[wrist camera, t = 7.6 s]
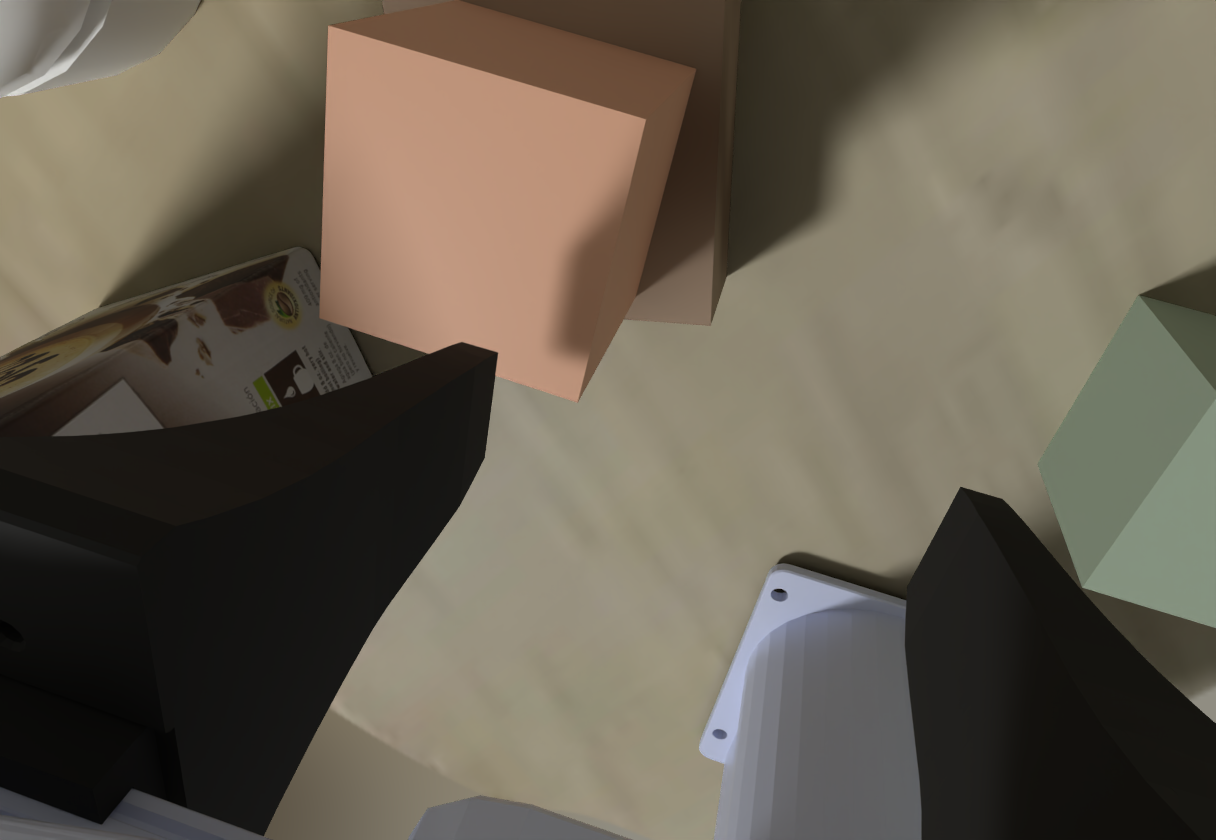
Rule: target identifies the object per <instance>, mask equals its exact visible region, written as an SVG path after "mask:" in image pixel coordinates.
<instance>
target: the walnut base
mask: <svg viewBox="0 0 1216 840" xmlns="http://www.w3.org/2000/svg"><path fill="white" fill-rule="evenodd" d="M449 1H454V0H382V4H383V10H384V14H389V13H394V12H399V11H404V10H409V9H414V8H419V7H424V6H429V5H434V4H439V3H444V2H449ZM460 1H463V2H467V3H470V4H474V5H477V6H481V7H484V8H488V9H491V10H495V11H498V12H501V13H505V14H508V15H512V16H515V17H519V18H522V19H526V20H529V21H533V22H536V23H540V24H543V25H547V26H550V27H553V28H557V29H560V30H564V31H567V32H571V33H574V34H578V35H581V36H585V37H588V38H592V39H595V40H598V41H602V42H605V43H609V44H612V45H616V46H619V47H623V48H626V49H630V50H633V51H637V52H640V53H644V54H647V55H650V56H654V57H657V58H661V59H664V60H668V61H671V62H675V63H678V64H682V65H685V66H689V67H692V68H695V69H696V72H695V76H694V80H693V84H692V88H691V91H690V95H689V99H688V103H687V106H686V110H685V114H684V118H683V121H682V125H681V129H680V133H679V136H678V140H677V144H676V148H675V151H674V155H673V159H672V163H671V167H670V170H669V174H668V178H667V182H666V185H665V189H664V193H663V197H662V200H661V204H660V208H659V212H658V215H657V219H656V223H655V227H654V230H653V234H652V238H651V242H650V246H649V249H648V253H647V257H646V261H645V264H644V268H643V272H642V276H641V279H640V283H639V287H638V291H637V294H636V297H635V299H634V301H633V303H632V305H631V307H630V308H629V310H628V312H627V314H626V316H625V317H624V319H628V320H641V321H654V322H667V323H680V324H693V325H706V326H711V323H712V320H713V317H714V314H715V311H716V307H717V304H718V301H719V298H720V295H721V292H722V289H723V286H724V283H725V280H726V277H727V260H728V241H729V222H730V203H731V184H732V165H733V146H734V127H735V109H736V90H737V71H738V52H739V33H740V14H741V0H460Z"/></svg>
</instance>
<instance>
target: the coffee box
mask: <svg viewBox="0 0 1216 840" xmlns="http://www.w3.org/2000/svg"><path fill="white" fill-rule="evenodd" d="M320 279H321V271H320V269H319V267H318V265H317V263H316V261H315V259H314V257H313V256H312V254H311V253H310V252H309V251H308V250H307V249H305V248H302V247H294V248H291V249H287V250H284V251H281V252H277V253H274V254H271V255H267V256H264V257H261V258H257V259H254V260H251V261H248V262H245V263H241V264H238V265H235V266H232V267H229V268H226V269H223V270H220V271H216V272H213V273H210V274H207V275H204V276H201V277H197V278H194V279H191V280H188V281H184V282H181V283H178V284H174V285H171V286H168V287H164V288H161V289H158V290H155V291H152V292H148V293H145V294H142V295H139V296H136V297H132V298H129V299H126V300H123V301H119V302H116V303H113V304H109V305H106V306H103V307H100V308H97V309H94V310H92V311H90V312H88V313H86V314H84V315H82V316H80V317H78V318H76V319H75V320H73V321H71V322H69V323H67V324H65V325H63V326H61V327H58V328H56V329H54V330H52V331H50V332H48V333H46V334H45V335H43V336H41V337H39V338H37V339H35V340H33V341H31V342H29V343H27V344H25V345H23V346H21V347H19V348H17V349H15V350H13V351H11V352H9V353H7V354H5V355H4V356H2V357H0V437H39V436H80V435H98V434H111V433H124V432H136V431H145V430H155V429H164V428H172V427H179V426H185V425H191V424H197V423H203V422H209V421H215V420H221V419H227V418H233V417H239V416H243V415H248V414H253V413H257V412H261V411H265V410H269V409H273V408H278V407H282V406H285V405H289V404H293V403H296V402H300V401H303V400H307V399H310V398H313V397H316V396H319V395H322V394H325V393H328V392H331V391H334V390H337V389H340V388H343V387H345V386H348V385H351V384H354V383H357V382H360V381H363V380H366V379H368V378H371V377H372V375H371V373H370V371H369V369H368V367H367V365H366V363H365V361H364V358H363V356H362V354H361V352H360V350H359V348H358V346H357V344H356V342H355V340H354V338H353V336H352V334H351V332H350V330H349V328H348V327H345V326H342V325H339V324H336V323H333V322H330V321H327V320H324V319H320V318H319V311H320Z"/></svg>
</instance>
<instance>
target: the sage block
mask: <svg viewBox="0 0 1216 840" xmlns="http://www.w3.org/2000/svg"><path fill="white" fill-rule="evenodd" d="M1038 467H1039V470H1040V473H1041V475H1042V478H1043V481H1044V484H1045V487H1046V489H1047V492H1048V495H1049V498H1050V500H1051V503H1052V506H1053V509H1054V511H1055V514H1056V517H1057V520H1058V522H1059V525H1060V528H1061V531H1062V533H1063V536H1064V539H1065V542H1066V544H1067V547H1068V550H1069V553H1070V555H1071V558H1072V561H1073V564H1074V566H1075V569H1076V572H1077V575H1078V577H1079V580H1080V583H1081V586H1082V588H1085V589H1088V590H1092V591H1095V592H1098V593H1102V594H1105V595H1108V596H1112V597H1115V598H1118V599H1121V600H1125V601H1128V602H1131V603H1135V604H1138V605H1141V606H1144V607H1148V608H1151V609H1154V610H1158V611H1161V612H1164V613H1168V614H1171V615H1174V616H1177V617H1181V618H1184V619H1187V620H1191V621H1194V622H1197V623H1201V624H1204V625H1207V626H1210V627H1214V628H1216V315H1212V314H1208V313H1204V312H1201V311H1197V310H1193V309H1189V308H1186V307H1182V306H1178V305H1174V304H1171V303H1167V302H1163V301H1159V300H1156V299H1152V298H1148V297H1144V296H1141V295H1138V296H1137V298H1136V300H1135V302H1134V303H1133V305H1132V307H1131V308H1130V310H1129V312H1128V313H1127V315H1126V317H1125V318H1124V320H1123V322H1122V323H1121V325H1120V327H1119V328H1118V330H1117V332H1116V333H1115V335H1114V337H1113V338H1112V340H1111V342H1110V343H1109V345H1108V347H1107V348H1106V350H1105V352H1104V353H1103V355H1102V357H1101V358H1100V360H1099V362H1098V363H1097V365H1096V367H1095V369H1094V370H1093V372H1092V374H1091V375H1090V377H1089V379H1088V380H1087V382H1086V384H1085V385H1084V387H1083V389H1082V390H1081V392H1080V394H1079V395H1078V397H1077V399H1076V400H1075V402H1074V404H1073V405H1072V407H1071V409H1070V410H1069V412H1068V414H1067V415H1066V417H1065V419H1064V420H1063V422H1062V424H1061V425H1060V427H1059V429H1058V430H1057V432H1056V434H1055V436H1054V437H1053V439H1052V441H1051V442H1050V444H1049V446H1048V447H1047V449H1046V451H1045V452H1044V454H1043V456H1042V457H1041V459H1040V461H1039V462H1038Z"/></svg>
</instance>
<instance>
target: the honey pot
mask: <svg viewBox="0 0 1216 840" xmlns="http://www.w3.org/2000/svg"><path fill="white" fill-rule="evenodd" d="M200 1H201V0H0V98H2V97H4V96H15V95H23V94H28V93H33V92H38V91H42V90H47V89H52V88H57V87H62V86H67V85H72V84H77V83H81V82H86V81H91V80H96V79H101V78H106V77H111V76H115V75H118V74H120V73H122V72H124V71H126V70H128V69H130V68H132V67H134V66H136V65H138V64H140V63H142V62H144V61H146V60H148V59H150V58H152V57H154V56H156V55H158V54H160V53H161V52H162V51H163V49H164V48H165V47H166V46H167V45H168V44H169V43H170V42H171V40H172V39H173V38H174V37H175V36H176V35H177V34H178V33H179V31H180V30H181V29H182V28H183V27H184V26H185V25H186V24H187V22H188V21H189V20H190V19H191V18H192V17H193V16H194V15H195V13H196V10H197V8H198V5H199V3H200Z"/></svg>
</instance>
